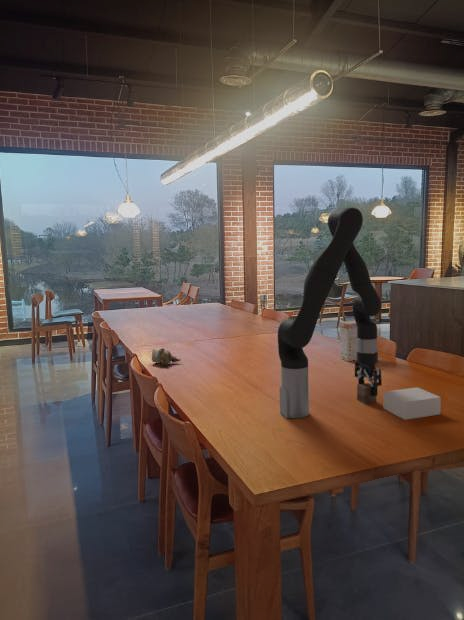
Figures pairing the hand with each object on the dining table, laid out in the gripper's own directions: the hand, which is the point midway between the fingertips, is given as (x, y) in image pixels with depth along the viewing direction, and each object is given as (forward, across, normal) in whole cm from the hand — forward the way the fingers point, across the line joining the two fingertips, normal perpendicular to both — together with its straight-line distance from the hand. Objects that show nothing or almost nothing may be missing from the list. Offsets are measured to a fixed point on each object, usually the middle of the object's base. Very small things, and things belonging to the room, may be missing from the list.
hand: (367, 392), depth 173 cm
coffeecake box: (+4, -59, +30) cm, 67 cm away
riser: (+3, +15, +8) cm, 17 cm away
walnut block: (+3, 0, 0) cm, 3 cm away
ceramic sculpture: (+3, -88, -64) cm, 109 cm away
